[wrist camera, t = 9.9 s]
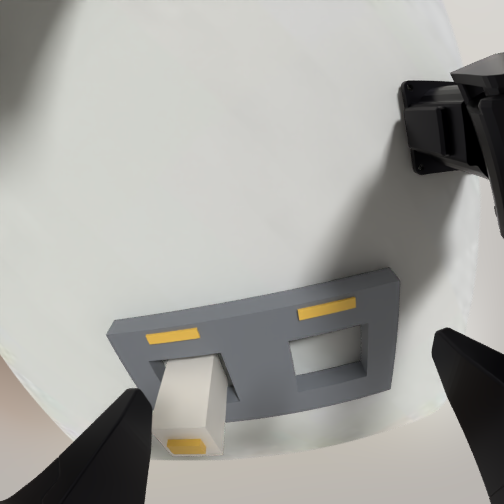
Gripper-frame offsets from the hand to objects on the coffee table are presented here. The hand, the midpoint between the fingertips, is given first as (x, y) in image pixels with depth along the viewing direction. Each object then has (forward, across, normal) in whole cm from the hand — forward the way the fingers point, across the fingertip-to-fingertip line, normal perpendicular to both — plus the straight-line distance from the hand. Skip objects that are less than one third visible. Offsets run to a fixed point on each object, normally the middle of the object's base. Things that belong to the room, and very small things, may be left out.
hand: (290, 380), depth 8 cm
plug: (+13, +8, +11) cm, 19 cm away
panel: (+13, +3, +11) cm, 17 cm away
